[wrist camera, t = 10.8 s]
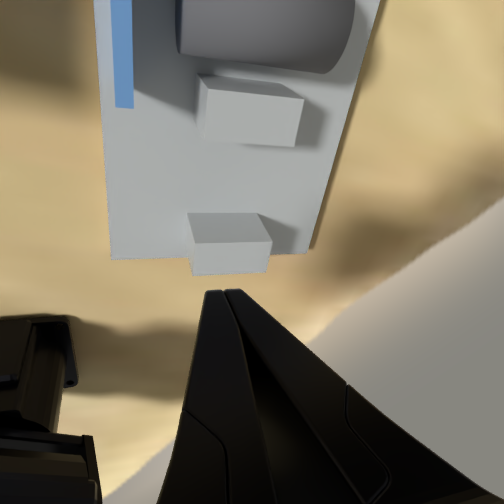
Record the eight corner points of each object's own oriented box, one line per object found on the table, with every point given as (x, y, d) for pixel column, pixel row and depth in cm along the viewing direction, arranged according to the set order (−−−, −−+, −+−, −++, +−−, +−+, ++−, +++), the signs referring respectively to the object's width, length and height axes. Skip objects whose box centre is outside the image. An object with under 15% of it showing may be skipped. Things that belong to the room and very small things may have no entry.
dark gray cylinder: (322, -23, 16) (366, -31, 13) (303, 68, 17) (339, 80, 15) (177, -57, 14) (191, -75, 11) (173, 49, 15) (185, 58, 13)
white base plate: (301, 244, 25) (333, 293, 21) (111, 249, 21) (109, 309, 17) (402, -122, 15) (498, -156, 11) (79, -233, 11) (57, -340, 8)
